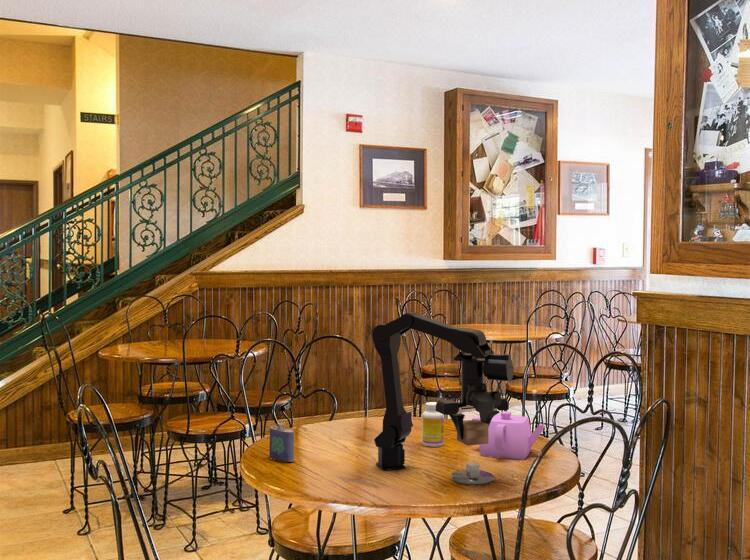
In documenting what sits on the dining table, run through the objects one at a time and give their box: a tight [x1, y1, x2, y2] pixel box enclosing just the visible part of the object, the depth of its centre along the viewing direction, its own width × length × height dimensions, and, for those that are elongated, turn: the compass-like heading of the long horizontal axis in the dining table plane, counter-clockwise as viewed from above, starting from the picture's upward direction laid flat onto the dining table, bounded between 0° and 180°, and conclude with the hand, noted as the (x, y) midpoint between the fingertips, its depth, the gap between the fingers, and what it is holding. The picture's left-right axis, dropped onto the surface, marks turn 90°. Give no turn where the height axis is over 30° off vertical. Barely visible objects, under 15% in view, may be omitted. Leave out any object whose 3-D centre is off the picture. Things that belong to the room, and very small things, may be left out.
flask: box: [268, 422, 295, 463], centre depth 208 cm, size 9×3×11 cm, turn 50°
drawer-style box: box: [456, 419, 488, 447], centre depth 190 cm, size 6×6×5 cm
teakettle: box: [471, 410, 546, 460], centre depth 216 cm, size 17×17×12 cm
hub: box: [450, 462, 495, 487], centre depth 190 cm, size 11×11×4 cm
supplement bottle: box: [421, 401, 445, 448], centre depth 226 cm, size 7×7×13 cm
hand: (472, 438), depth 190 cm, fingers closed on drawer-style box, 6 cm apart
